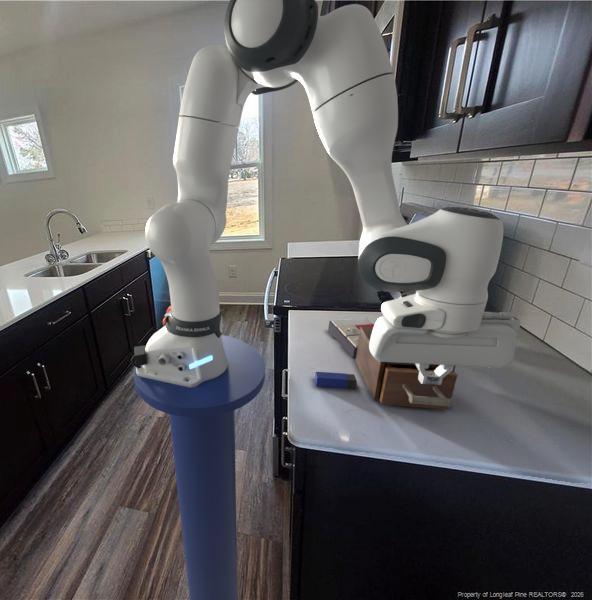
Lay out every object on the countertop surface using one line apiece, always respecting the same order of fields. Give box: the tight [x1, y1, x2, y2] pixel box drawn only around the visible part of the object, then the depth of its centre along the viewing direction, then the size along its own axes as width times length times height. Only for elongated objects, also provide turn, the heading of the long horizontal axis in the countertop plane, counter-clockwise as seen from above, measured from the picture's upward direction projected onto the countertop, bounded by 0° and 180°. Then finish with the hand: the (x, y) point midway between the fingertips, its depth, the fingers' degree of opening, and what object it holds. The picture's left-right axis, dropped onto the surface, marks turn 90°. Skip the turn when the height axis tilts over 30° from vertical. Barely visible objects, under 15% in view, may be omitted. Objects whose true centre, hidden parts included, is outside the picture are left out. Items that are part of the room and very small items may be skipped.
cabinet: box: [355, 327, 457, 402], centre depth 68 cm, size 15×13×10 cm
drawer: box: [379, 364, 459, 411], centre depth 63 cm, size 18×11×8 cm, turn 168°
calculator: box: [327, 317, 375, 360], centre depth 85 cm, size 11×4×15 cm
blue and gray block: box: [314, 371, 358, 390], centre depth 70 cm, size 8×2×2 cm, turn 78°
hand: (428, 382), depth 56 cm, fingers closed
